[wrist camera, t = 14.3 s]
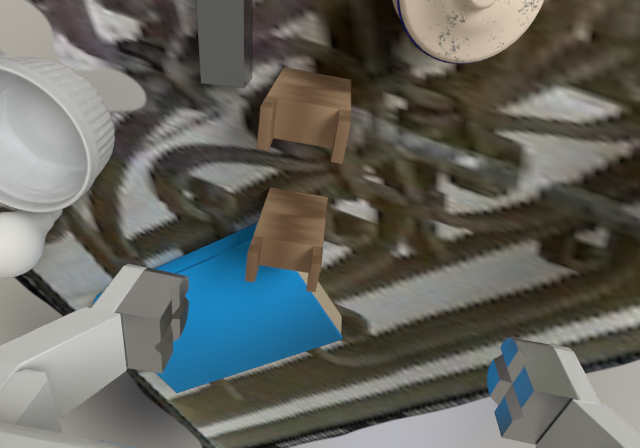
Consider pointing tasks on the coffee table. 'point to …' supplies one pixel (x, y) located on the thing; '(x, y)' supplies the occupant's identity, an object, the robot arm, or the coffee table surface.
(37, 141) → the ramekin
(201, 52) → the rail
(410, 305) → the coffee table surface
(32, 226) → the lightbulb
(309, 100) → the post
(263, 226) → the post
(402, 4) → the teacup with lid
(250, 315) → the book
